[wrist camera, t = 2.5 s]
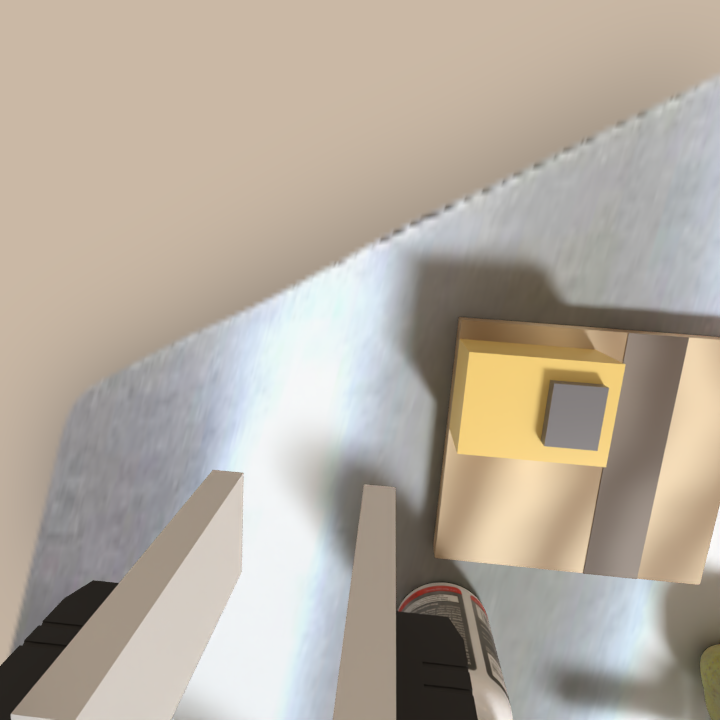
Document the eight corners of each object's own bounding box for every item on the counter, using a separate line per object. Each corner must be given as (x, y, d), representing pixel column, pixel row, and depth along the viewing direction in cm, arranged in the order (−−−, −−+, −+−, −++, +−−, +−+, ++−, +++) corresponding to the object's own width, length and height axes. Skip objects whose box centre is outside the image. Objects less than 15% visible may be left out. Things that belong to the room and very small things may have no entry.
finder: (449, 428, 27) (458, 458, 23) (459, 338, 26) (471, 354, 22) (579, 440, 27) (611, 472, 23) (595, 349, 26) (631, 367, 22)
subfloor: (433, 545, 30) (434, 558, 29) (458, 316, 27) (461, 320, 26) (687, 571, 30) (700, 585, 28) (743, 338, 26) (760, 342, 25)
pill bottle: (381, 635, 32) (375, 803, 22) (417, 564, 31) (428, 708, 21) (463, 669, 32) (492, 851, 22) (503, 600, 31) (552, 760, 21)
